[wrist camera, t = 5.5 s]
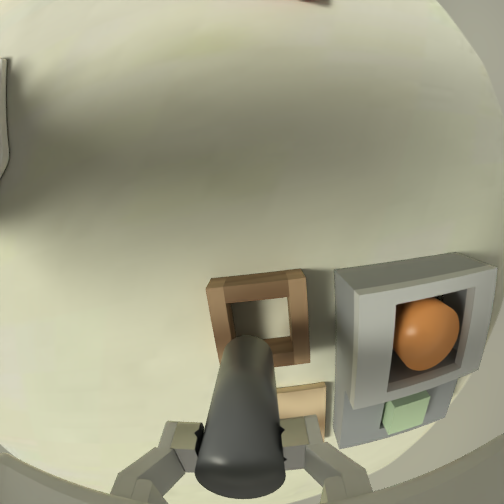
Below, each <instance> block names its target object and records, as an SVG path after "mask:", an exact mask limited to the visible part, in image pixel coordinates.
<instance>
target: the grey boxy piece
mask: <svg viewBox="0 0 504 504" xmlns="http://www.w3.org/2000/svg"><path fill="white" fill-rule="evenodd" d="M497 269H498V268H497V267H495V266H492V265H489V264H487V263H484V262H481V261H478V260H476V259H473V258H470V257H467V256H465V255H462V254H459V253H456V252H453V253H447V254H440V255H434V256H428V257H421V258H414V259H408V260H401V261H394V262H387V263H380V264H373V265H366V266H358V267H351V268H343V269H335V270H334V280H335V312H336V365H335V396H334V415H333V429H334V433H335V436H336V440H337V443H338V447H339V449H343V448H348V447H352V446H357V445H361V444H365V443H369V442H373V441H377V440H380V439H384V438H387V437H391V436H394V435H397V434H401V433H404V432H407V431H410V430H413V429H416V428H418V427H421V426H424V425H427V424H429V423H432V422H435V421H437V420H440V419H442V418H444V417H445V416H446V413H447V410H448V408H449V405H450V402H451V399H452V396H453V392H454V389H455V386H456V383H457V379H458V378H460V377H462V376H465V375H467V374H469V373H472V372H474V371H476V370H478V369H479V366H480V362H481V358H482V355H483V351H484V347H485V343H486V339H487V334H488V330H489V325H490V319H491V314H492V308H493V302H494V295H495V288H496V279H497ZM438 295H443V303H444V304H446V305H448V306H449V307H451V308H452V309H453V310H454V311H455V312H456V313H457V316H458V318H459V333H458V337H457V340H456V342H455V344H454V346H453V348H452V349H451V351H450V352H449V354H448V355H447V356H446V357H445V358H444V359H443V360H442V361H441V362H440V363H438V364H437V365H435V366H434V367H432V368H429V369H427V370H422V371H416V370H412V369H410V368H408V367H407V366H406V365H405V363H404V362H403V361H402V360H401V358H400V357H399V356H398V355H397V353H396V352H395V351H394V350H393V340H394V328H395V315H396V304H401V303H406V302H411V301H416V300H421V299H425V298H430V297H434V296H438ZM425 390H426V391H427V392H428V394H429V395H430V396H431V397H430V400H429V404H428V407H427V410H426V414H425V417H424V420H423V423H422V424H421V425H418V426H415V427H412V428H409V429H406V430H403V431H400V432H396V433H393V434H390V435H388V433H387V431H386V429H385V427H384V425H383V423H382V421H381V418H382V413H383V408H384V403H385V402H388V401H392V400H396V399H399V398H403V397H406V396H409V395H412V394H416V393H419V392H422V391H425Z"/></svg>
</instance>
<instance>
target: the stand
mask: <svg viewBox="0 0 504 504" xmlns="http://www.w3.org/2000/svg"><path fill="white" fill-rule="evenodd" d="M206 294H207V299H208V305H209V311H210V316H211V322H212V327H213V332H214V338H215V343H216V348H217V353H218V358H219V363H220V364H221V359H222V355H223V351H224V349H225V347H226V345H227V344H228V343H229V342H230V341H231V340H233V339H234V338H236V334H235V328H234V321H233V315H232V308H231V303H236V302H246V301H256V300H265V299H274V298H283V297H287V300H288V312H289V324H290V336H289V337H281V338H272V339H262V340H264V341H265V342H266V343H267V344H268V345H269V347H270V348H271V350H272V354H273V363H274V367H280V366H289V365H297V364H304V363H310V342H309V321H308V304H307V288H306V277H305V276H304V274H303V272H302V270H301V269H294V270H285V271H276V272H267V273H258V274H249V275H240V276H230V277H221V278H211V280H210V282H209V284H208V285H207V287H206Z"/></svg>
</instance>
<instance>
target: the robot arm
mask: <svg viewBox="0 0 504 504" xmlns="http://www.w3.org/2000/svg"><path fill="white" fill-rule="evenodd" d="M6 68H7V60H6V59H2V58H0V177H1V176H2V174H3V172H4V170H5V168H6V166H7V163H8V160H9V147H8V137H7V123H6ZM280 432H281V440H282V452H283V457H284V465H285V470H295V469H304V468H305V470H306V471H307V472H308V473H309V474H310V475H311V476H312V477H313V478H314V479H315V480H316V481H317V482H318V483H319V484H320V485H321V486H322V487H323V490H322V495H321V500H320V504H504V433H503V434H501V435H499V436H497V437H496V438H494V439H493V440H491V441H489V442H488V443H486V444H484V445H482V446H481V447H479V448H477V449H475V450H474V451H472V452H470V453H468V454H466V455H464V456H462V457H461V458H459V459H457V460H455V461H452V462H451V463H448V464H446V465H444V466H442V467H440V468H438V469H435V470H433V471H431V472H428V473H426V474H423V475H421V476H418V477H416V478H413V479H410V480H408V481H405V482H403V483H399V484H396V485H394V486H390V487H387V488H384V489H381V490H377V491H374V492H373V491H372V487H371V484H370V482H369V478H368V475H367V472H366V469H365V468H363V467H362V466H360V465H359V464H357V463H356V462H354V461H353V460H352V459H350V458H349V457H347V456H346V455H344V454H343V453H342V452H340V451H339V450H337V449H336V448H335V447H333V446H332V445H331V444H329V443H328V442H323V439H322V435H321V431H320V427H319V423H318V419H317V415H316V414H314V415H307V416H304V417H303V416H299V417H292V418H283V419H280ZM203 434H204V426H203V424H202V423H197V422H177V421H167V422H166V423H165V426H164V429H163V433H162V436H161V439H160V442H159V445H158V448H157V447H154V448H153V449H152V450H150V451H149V452H148V453H146V454H145V455H143V456H142V457H141V458H139V459H138V460H137V461H135V462H134V463H132V464H131V465H130V466H128V467H127V468H125V469H124V470H122V471H121V472H119V473H118V475H117V477H116V480H115V483H114V485H113V488H112V490H111V493H110V494H108V493H104V492H101V491H97V490H94V489H91V488H87V487H84V486H81V485H78V484H76V483H73V482H70V481H67V480H65V479H62V478H59V477H57V476H54V475H52V474H50V473H47V472H45V471H43V470H40V469H38V468H36V467H34V466H32V465H30V464H28V463H25V462H23V461H21V460H19V459H18V458H16V457H14V456H12V455H10V454H8V453H0V504H168V503H167V502H166V500H165V499H164V498H163V496H164V495H165V494H166V493H167V492H168V491H169V490H170V489H171V488H172V487H173V486H174V484H175V483H176V482H177V481H178V480H179V479H180V478H181V477H182V476H183V475H184V474H185V472H195V467H196V463H197V458H198V454H199V450H200V446H201V442H202V438H203Z"/></svg>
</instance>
